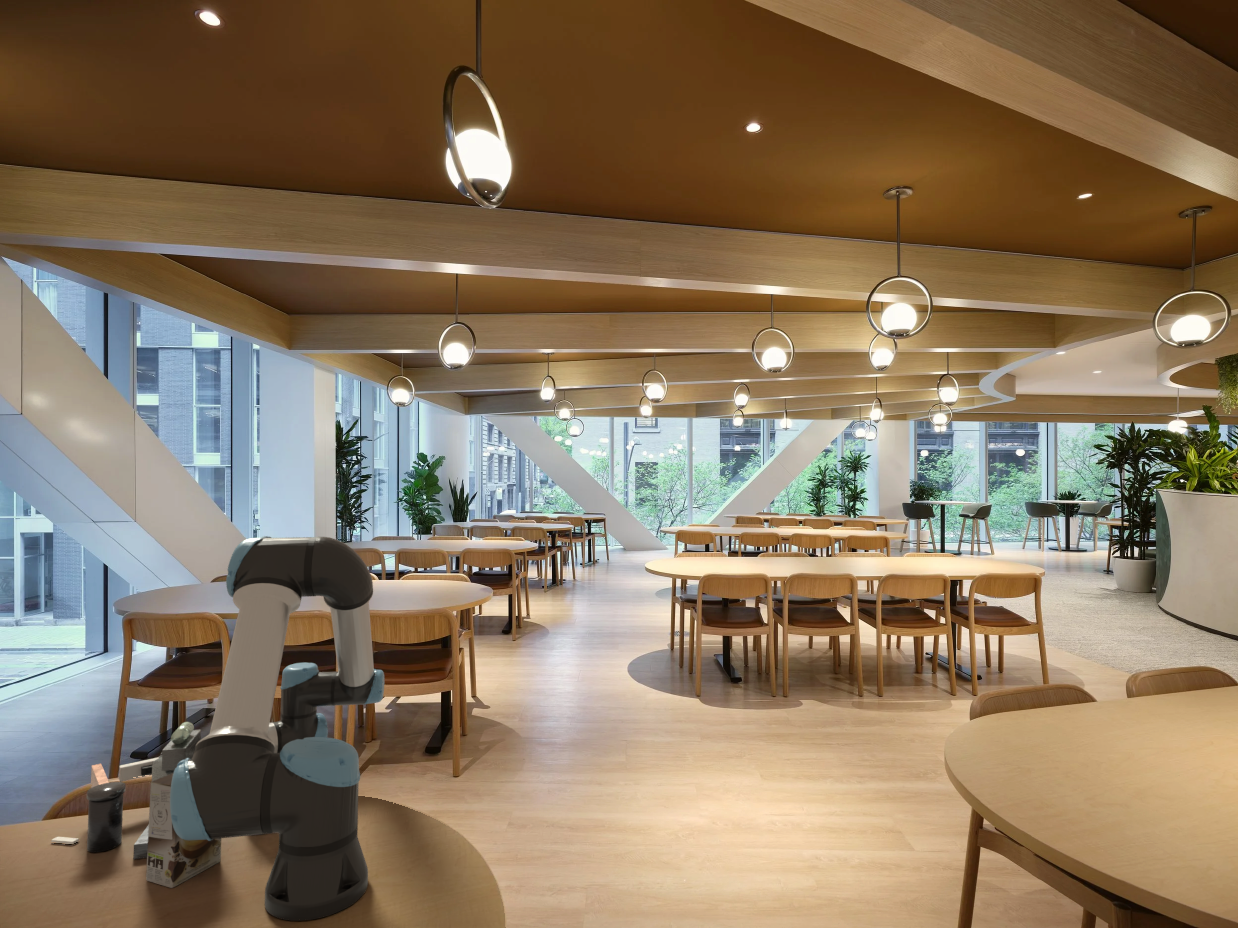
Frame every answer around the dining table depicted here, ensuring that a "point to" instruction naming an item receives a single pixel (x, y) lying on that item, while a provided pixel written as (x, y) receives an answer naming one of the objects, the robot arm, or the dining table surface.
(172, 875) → the coffee box
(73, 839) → the index mark
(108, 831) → the wooden-handled mallet
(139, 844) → the level instrument
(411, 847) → the dining table surface
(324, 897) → the robot arm
